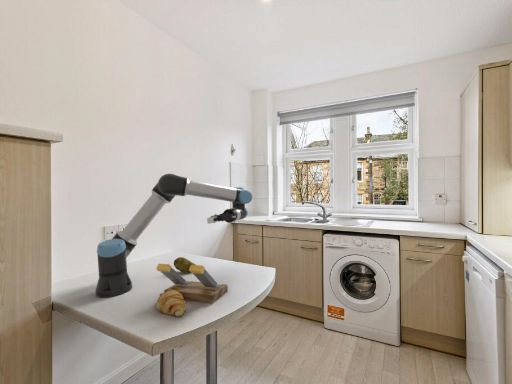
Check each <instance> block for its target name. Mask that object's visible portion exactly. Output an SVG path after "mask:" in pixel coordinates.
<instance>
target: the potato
mask: <svg viewBox="0 0 512 384" xmlns="http://www.w3.org/2000/svg"><path fill="white" fill-rule="evenodd" d="M191 265H196V264H195V263H194V262H192V261H191V260H189V259H187V258H185V257H181V256H180V257H177V258H175V259H174V260H173V266H174V268H175V269H176V270H178V271H179V272H180V273H183V274H190V273H191V272H190V271H189V269H190V266H191ZM191 274H192V273H191Z"/></svg>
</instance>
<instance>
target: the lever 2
mask: <svg viewBox="0 0 512 384" xmlns="http://www.w3.org/2000/svg"><path fill="white" fill-rule="evenodd" d="M189 271H190V272H191V274H192V275H194V277H196V279H197V280H198V282H201V283H202V284H203V285H204V287H211V288H219V284H220V283H218V282H217V281H216V280H215V279H214V278H213V276H212V275H211V274H210V273H209V272H208V271H207V270H206V267H205V266H204V265H198V264H195V265H191V266H190V269H189Z"/></svg>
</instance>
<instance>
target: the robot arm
mask: <svg viewBox="0 0 512 384" xmlns="http://www.w3.org/2000/svg"><path fill="white" fill-rule="evenodd" d="M177 196H179V197H186V196H192V197H200V198H204V199H205V198H207V199H212V200H218V201H219V200H220V201H226V202H230V203H231V205H232V208H231V207H230V208H226V209H225V210H224V211H223V212H222V213H219V214H214V215H211V216H210V217H207V218H206V222H207V224H208V225H209V224H214V223H215V224H216V223H217V222H226V223H229V224H230V223H235V222H236V221H241V220H244V219H245V218H247V217H248V215H249V210H248V208H247V207H246V205H247V204H249V203H252V200H253V193H252V192H251V191H250V190H249V189H244V187H243V186H238V187H237V186H236V187H229V186H225V185H220V184H219V185H218V184H212V183H206V182H201V181H195V180H190V179H189V178H188V177H184V176H181V175H176V174H173V173H166V174H162V175H161V177H159V179H158V181H157V183H156V184H155V185H154V187H153V188H152V189H151V195H150V196H149V197H148V199H147V200H146V201H145V202H144V204H143V205H142V206H141V207H140V208H139V210H138V211H137V212H136V213H135V214H134V216H133V217H132V219H131V220H130V221H129V222H128V223H127V224H126V226H125V227H124V228H123V229H122V230H121V231H120V230H119V231H117V232H116V233H115V234H114V235H113V237H112V238H111V239H107V240H104V241H101V242H100V243H98V244H97V248H96V249H97V250H96V254H97V266H98V280H97V283H96V286H95V296H96V297H97V296H99V297H98V298H110V297H111V298H112V297H115V296H119V295H123V294H125V293H127V292H129V291H131V290H132V289H133V282H132V280H131V277H130V276H129V273H128V265H127V257H129V256H130V254H131V253H132V251H133V250H134V249H135V248H136V247H137V245H138V241H137V240H138V239H139V238H140V236H141V235H142V234H143V233H144V231H146V229H148V226H149V225H150V224H151V223H152V222H153V220H154V219H155V217H156V216H157V215H158V214H159V212H160V211H161V210H162V208H164V206H165V205H166V204H171V202H172V201H173V199H174V198H175V197H177Z"/></svg>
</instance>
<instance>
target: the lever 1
mask: <svg viewBox="0 0 512 384" xmlns="http://www.w3.org/2000/svg"><path fill="white" fill-rule="evenodd" d="M155 268H156V271H158V272H160V273H161V274H162V275H163V276H165V277H166V278H167V279H168V280H170V281H171V282H172V283H173V285H175V284H181V285H187V284H188V281H189V280H186V279H185V278H184V277H183V276H182V275H180V273H178V272H177V271H176V270H175V269H174V268H173V266H172V265H171V264H169V263H158V264H157V267H155Z"/></svg>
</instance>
